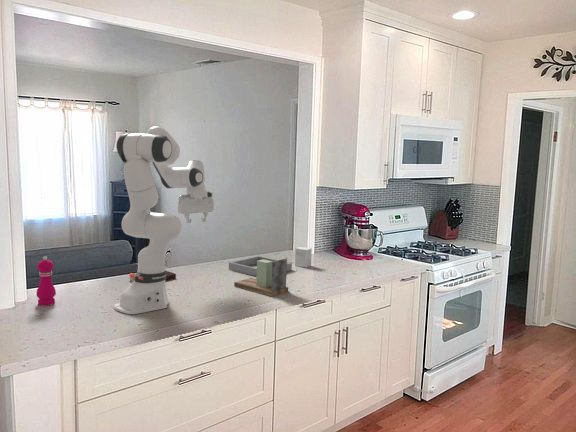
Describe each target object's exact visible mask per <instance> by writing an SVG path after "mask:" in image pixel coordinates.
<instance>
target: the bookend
mask: <svg viewBox="0 0 576 432" xmlns="http://www.w3.org/2000/svg"><path fill="white" fill-rule="evenodd" d="M276 260H277V261H273V262H272V286H270V287H267V288H265V287H261V286H257V285H256V278H254V277H249V278H245V279H240V280H238V281H234V284H233V287H235V288H238V289H239V288H240V289H242V288H243V290H247V291H251V292H254V293H257V294H262V295H264V296H269V297H275V296H278V295H281V294H285V293H287V292H289V287H288V286H287V272H288V271H287V262H288V258H282V259H276Z"/></svg>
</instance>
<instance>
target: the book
mask: <svg viewBox="0 0 576 432" xmlns="http://www.w3.org/2000/svg"><path fill="white" fill-rule="evenodd" d="M129 278H130V277H129ZM176 278H177V274H176V273H174V272H172V271H168V270H166V280H165V282H167V281H171V280H174V279H176ZM133 281H134V278H130V279H129V281H128V282H130V283H132V282H133Z"/></svg>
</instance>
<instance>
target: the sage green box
mask: <svg viewBox="0 0 576 432" xmlns="http://www.w3.org/2000/svg"><path fill="white" fill-rule="evenodd" d="M272 262H273V261H268V260H264V259H262V260H258V261H257V264H256V268H257V276H255V277H256V278H255V279H256V285H257V286H261V287H265V288H267V287H270V286H272Z"/></svg>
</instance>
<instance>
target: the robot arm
mask: <svg viewBox="0 0 576 432" xmlns="http://www.w3.org/2000/svg"><path fill="white" fill-rule="evenodd" d="M116 151H117V154H118V157H119V158H120V160H121V161H122V162H123V163H124V165H123V177H124V178H123V179H124V183H125V187H126V190H127V194H128V198H129V205H130V207H129V210H128V212H126V213H125V215H123V217H122V220H121V229H122V231H123V233H124V234H125V235H127V236H130V237H133V238H139V239H141V238H142V239H149V244H148V246H145V247H144V248H142V249H141V250H140V251H139V252H138V255H137V271H136V273H134V272H133V273H132V272H130V273H129V275H128V277H129V278H134V281H133V282H130V284H129V285H128V286H127V287H126V288H125V289H124V290H123V291H122V292H121V293H120V297H119V302H118V303H115V304H114V306H113V308H114V309H115V310H116V311H117V312H120V313H123V314H127V315H138V314H143V313H147V312H152V311H157V310H163V309H166V308H168V305H169V302H170V301H169V299H168V293H167V287H166V281H165V280H166V271H167V270H166V256H167V252H168V251H167V250H168V248H169V246H170V244H171V243H172V242H173V241H174V240H176V239H178V237H179V235H180V234H181V232H182V228H183V226H182V222H181V220H180V218H179V217H178V216H176V215H172V214H169V213H164V212H154V211H151V209H153V207H155V206H156V205H157V204H158V201H159V193H158V190H157V185H156V182H155V178H154V174H153V171H152V170H151V167H150V163H152V165H153V167H154V168H155V170H156V172H157V174H158V176H159V179H160V181H161V184H162V185H163V187H165V188H166V189H180V188H181V189H183V188H184V189H186V193H185V194H180V196H179V197H178V204H177V205H178V206H177V213H178V214H179V215H184V218H185V220H186V224H191V223H192V219H190V215H191V214H202V215H203V216H202V217H201V222H207V217H208V215H209V213H212V212H213V211H214V210H215V203H214V202H215V201H214V198H213V197H214V193H213V192H211V191H209V190H206V186H205V179H206V175H205V174H206V172H205V167H204V163H203V162H202V161H200V160H193V159H192V160H188V161H187V164H186V166H185V167H182V166H181V167H180V166H179V167H176V166H175V167H173V166H171V165H173V164H175V162H176V161H177V160H179V157H180V155H181V148H180V146H179V144H178V143H177V141H176V140H175V138H174V137H173V136H172V135H171V133H169V131H167V130H166V129H165V128H163V127H161V126H158V125H157V126H152V127H149V128H148V129H147V131H146V132H139V133H138V132H137V133H132V132H128V133H123V134H120V135H119V137H118V138H117V140H116Z"/></svg>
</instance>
